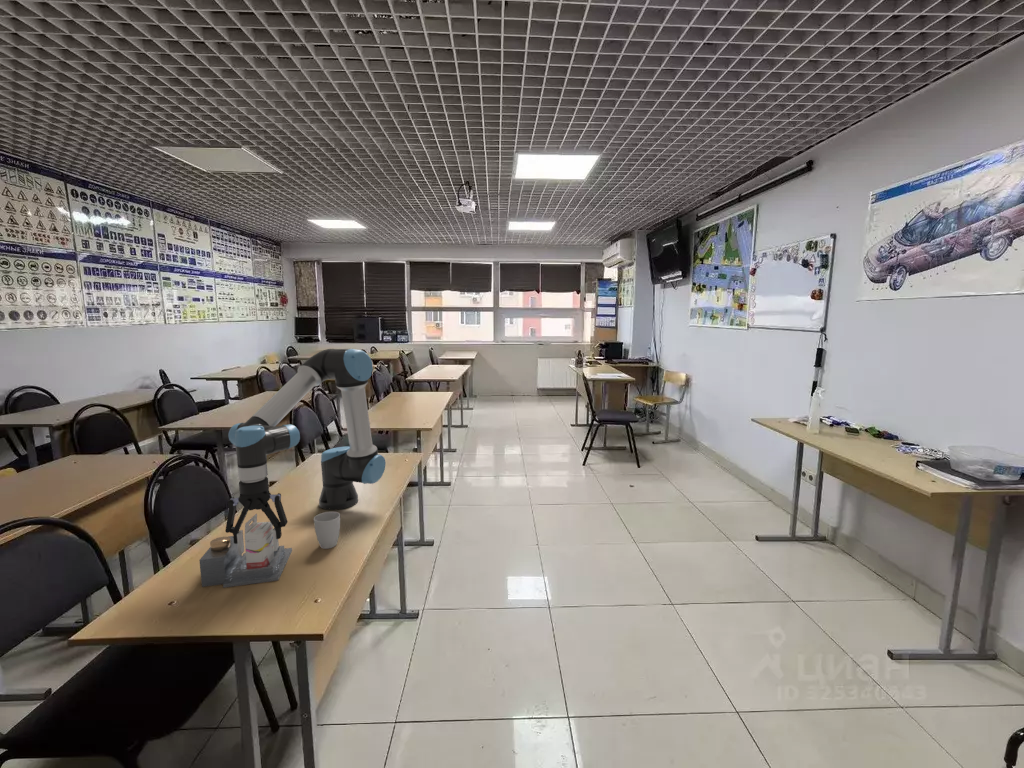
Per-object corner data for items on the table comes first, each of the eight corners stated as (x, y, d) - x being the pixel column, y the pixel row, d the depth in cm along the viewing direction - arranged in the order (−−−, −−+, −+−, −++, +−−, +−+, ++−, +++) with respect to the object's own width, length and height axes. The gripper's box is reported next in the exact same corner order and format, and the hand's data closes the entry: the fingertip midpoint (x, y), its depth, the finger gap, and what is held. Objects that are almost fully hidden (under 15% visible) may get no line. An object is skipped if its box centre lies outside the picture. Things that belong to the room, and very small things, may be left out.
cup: (346, 541, 152) (345, 513, 151) (329, 552, 144) (328, 523, 143) (327, 537, 155) (325, 510, 153) (309, 548, 147) (308, 519, 146)
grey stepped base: (292, 550, 146) (290, 521, 144) (278, 580, 128) (275, 547, 127) (222, 558, 141) (220, 528, 139) (198, 590, 123) (195, 556, 122)
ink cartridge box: (264, 571, 131) (261, 523, 130) (246, 572, 131) (242, 524, 129) (275, 556, 140) (272, 511, 138) (258, 557, 139) (255, 512, 137)
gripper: (295, 471, 138) (300, 540, 141) (217, 477, 133) (223, 549, 136) (290, 479, 131) (295, 552, 134) (206, 486, 126) (213, 561, 128)
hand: (259, 550), depth 135 cm, fingers open, 9 cm apart
